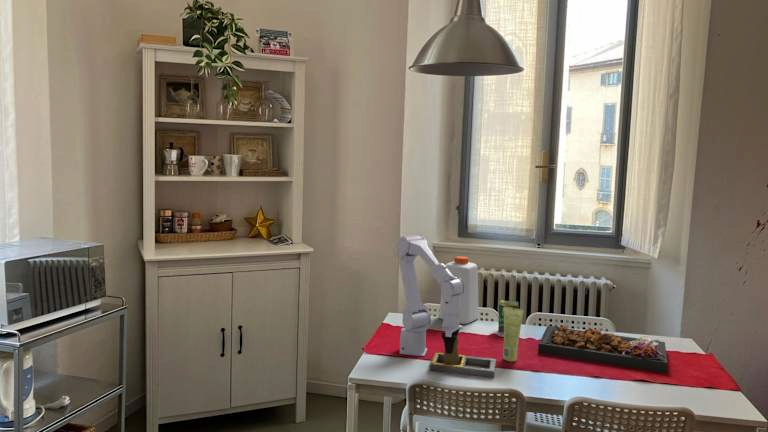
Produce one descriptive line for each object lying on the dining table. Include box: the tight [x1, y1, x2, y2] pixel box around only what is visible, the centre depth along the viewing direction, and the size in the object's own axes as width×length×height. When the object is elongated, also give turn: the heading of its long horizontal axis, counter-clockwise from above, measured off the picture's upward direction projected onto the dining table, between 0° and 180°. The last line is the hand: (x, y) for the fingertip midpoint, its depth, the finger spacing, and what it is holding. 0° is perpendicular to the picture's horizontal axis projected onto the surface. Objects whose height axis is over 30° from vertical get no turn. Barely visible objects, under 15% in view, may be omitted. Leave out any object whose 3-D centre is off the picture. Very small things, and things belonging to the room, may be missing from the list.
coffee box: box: [497, 299, 519, 333], centre depth 261 cm, size 8×3×13 cm, turn 70°
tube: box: [502, 307, 525, 362], centre depth 229 cm, size 6×5×20 cm
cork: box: [442, 335, 461, 365], centre depth 220 cm, size 6×6×11 cm
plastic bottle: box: [438, 255, 479, 325], centre depth 277 cm, size 15×15×28 cm
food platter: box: [537, 324, 669, 374], centre depth 240 cm, size 45×25×10 cm, turn 68°
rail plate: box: [429, 352, 497, 379], centre depth 220 cm, size 22×12×3 cm, turn 77°
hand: (449, 350), depth 220 cm, fingers closed on cork, 5 cm apart
